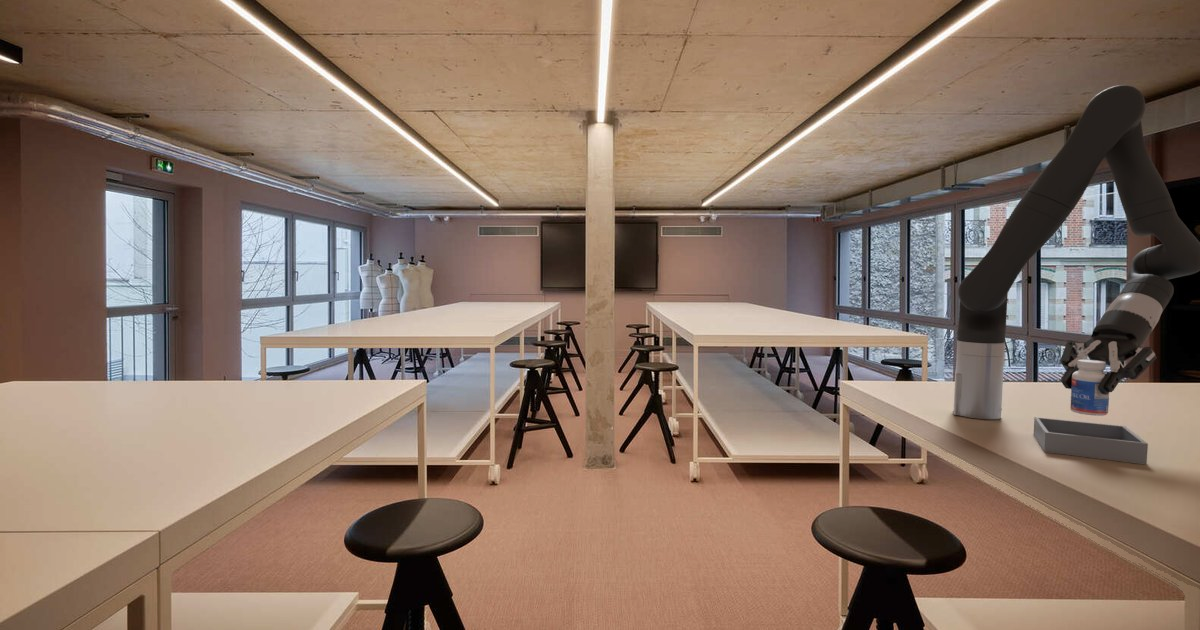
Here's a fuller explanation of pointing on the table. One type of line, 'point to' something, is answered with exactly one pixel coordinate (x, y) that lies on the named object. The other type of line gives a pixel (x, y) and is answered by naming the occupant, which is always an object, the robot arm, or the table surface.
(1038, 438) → the tray
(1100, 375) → the pill bottle
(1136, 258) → the robot arm
